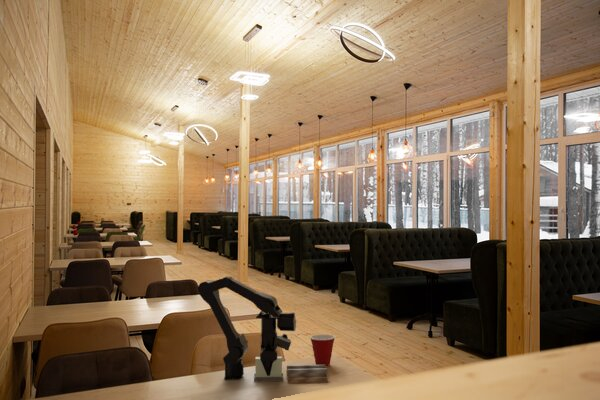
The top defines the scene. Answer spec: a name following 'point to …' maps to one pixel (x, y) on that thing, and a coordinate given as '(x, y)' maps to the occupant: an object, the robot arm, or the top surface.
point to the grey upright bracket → (268, 378)
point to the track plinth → (306, 373)
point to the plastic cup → (322, 348)
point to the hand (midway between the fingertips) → (268, 371)
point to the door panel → (275, 370)
